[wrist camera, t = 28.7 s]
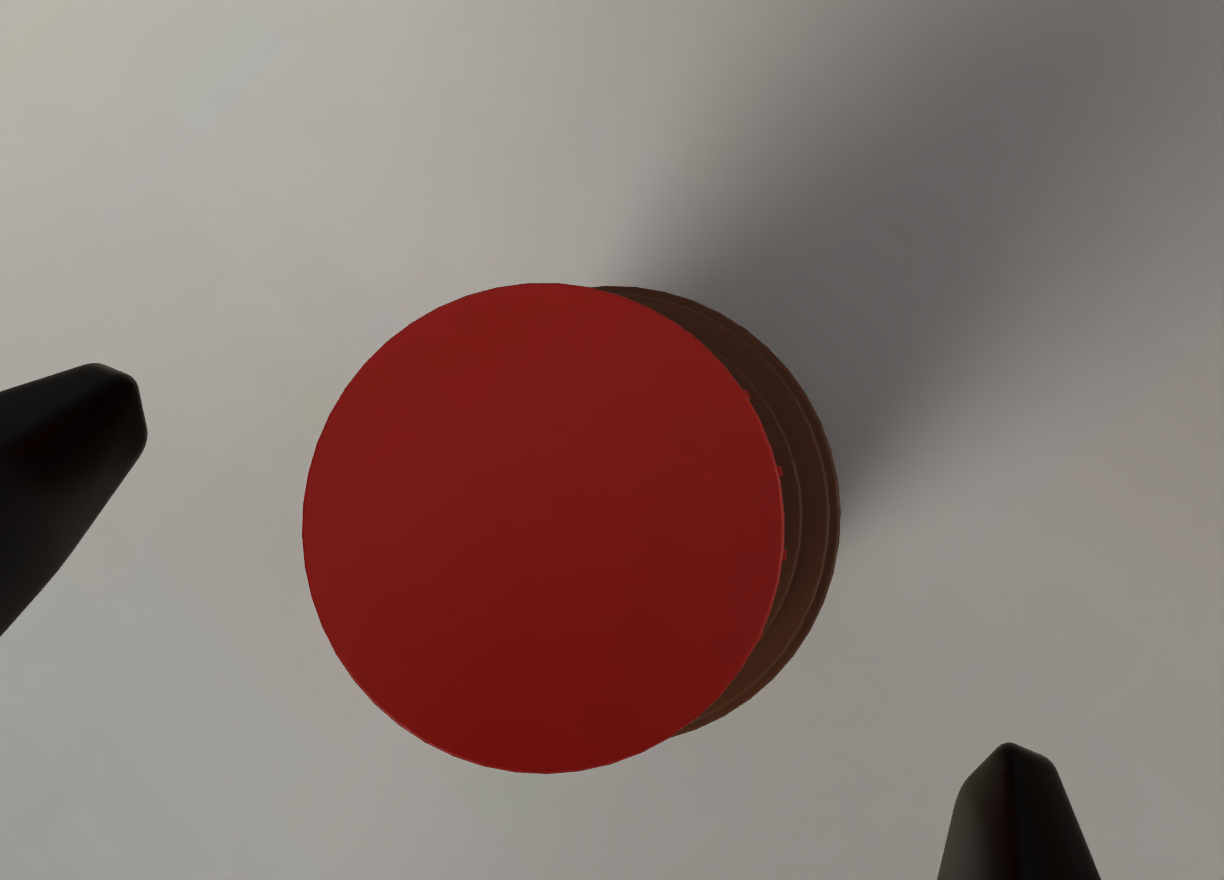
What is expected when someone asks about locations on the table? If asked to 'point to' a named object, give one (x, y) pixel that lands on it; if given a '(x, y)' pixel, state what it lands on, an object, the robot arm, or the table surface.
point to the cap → (543, 528)
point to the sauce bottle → (802, 485)
